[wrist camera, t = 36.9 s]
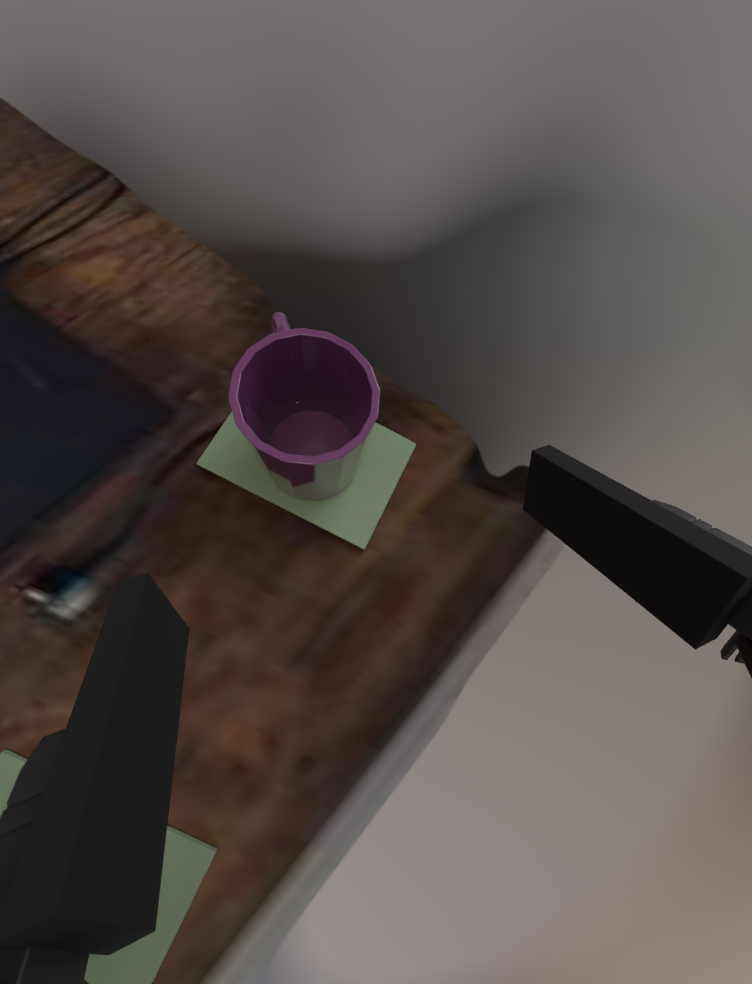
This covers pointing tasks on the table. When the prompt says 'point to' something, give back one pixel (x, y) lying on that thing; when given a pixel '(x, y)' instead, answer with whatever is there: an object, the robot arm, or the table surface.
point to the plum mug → (305, 408)
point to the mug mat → (339, 514)
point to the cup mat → (133, 968)
